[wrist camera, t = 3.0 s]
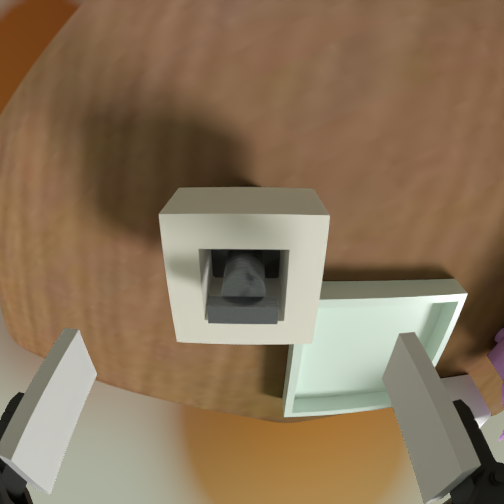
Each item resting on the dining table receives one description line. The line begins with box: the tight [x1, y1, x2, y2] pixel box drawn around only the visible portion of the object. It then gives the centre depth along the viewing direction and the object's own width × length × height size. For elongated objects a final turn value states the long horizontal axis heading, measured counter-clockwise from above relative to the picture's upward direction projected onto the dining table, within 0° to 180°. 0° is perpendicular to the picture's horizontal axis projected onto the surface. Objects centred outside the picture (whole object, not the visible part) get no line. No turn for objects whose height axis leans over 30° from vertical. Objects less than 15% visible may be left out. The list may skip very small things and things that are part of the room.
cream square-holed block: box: [159, 187, 330, 345], centre depth 19 cm, size 9×8×4 cm
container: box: [440, 374, 491, 440], centre depth 29 cm, size 8×8×13 cm
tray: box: [282, 279, 468, 417], centre depth 29 cm, size 16×16×3 cm
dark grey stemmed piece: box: [207, 185, 280, 324], centre depth 19 cm, size 6×6×11 cm
